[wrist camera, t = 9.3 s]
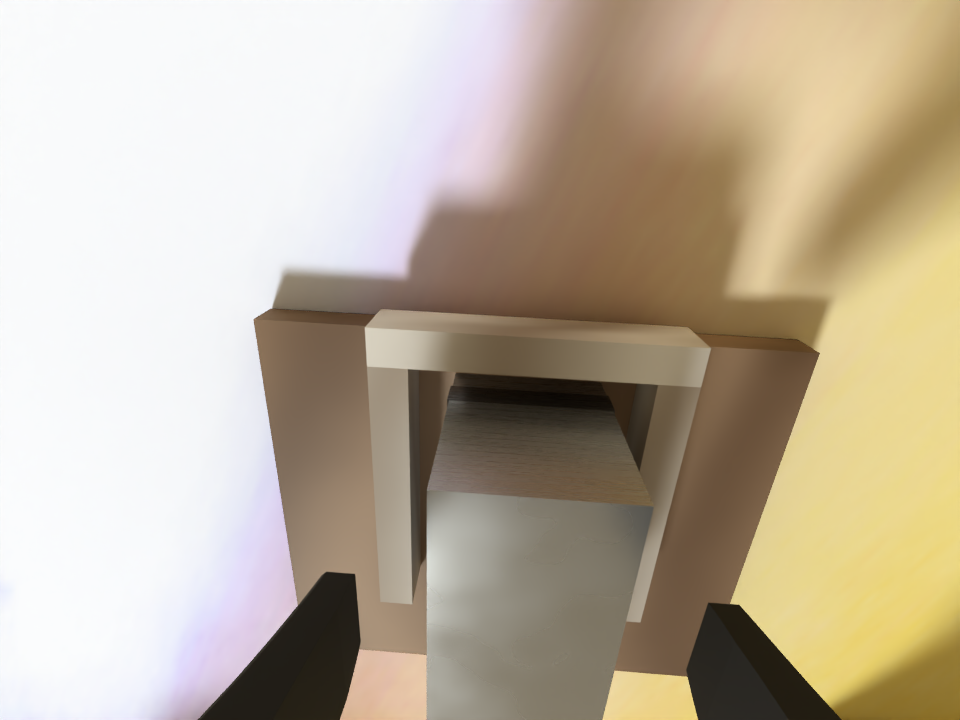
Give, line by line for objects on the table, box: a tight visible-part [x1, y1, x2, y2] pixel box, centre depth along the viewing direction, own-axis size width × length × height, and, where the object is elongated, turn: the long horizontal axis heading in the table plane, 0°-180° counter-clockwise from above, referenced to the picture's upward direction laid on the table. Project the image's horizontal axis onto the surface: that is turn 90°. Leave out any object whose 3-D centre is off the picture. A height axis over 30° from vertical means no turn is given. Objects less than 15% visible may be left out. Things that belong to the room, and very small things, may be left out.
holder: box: [254, 309, 820, 677], centre depth 14 cm, size 15×14×2 cm
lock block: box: [427, 373, 654, 720], centre depth 12 cm, size 4×7×5 cm, turn 177°
